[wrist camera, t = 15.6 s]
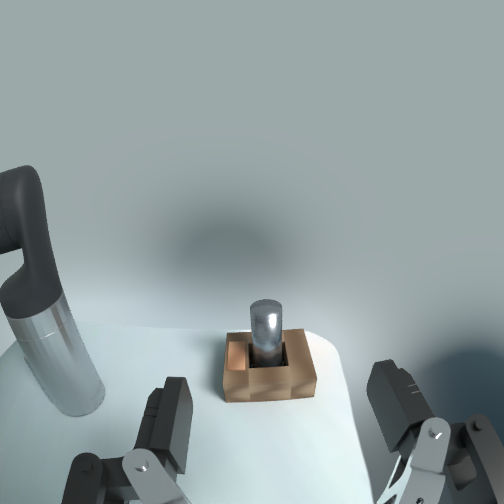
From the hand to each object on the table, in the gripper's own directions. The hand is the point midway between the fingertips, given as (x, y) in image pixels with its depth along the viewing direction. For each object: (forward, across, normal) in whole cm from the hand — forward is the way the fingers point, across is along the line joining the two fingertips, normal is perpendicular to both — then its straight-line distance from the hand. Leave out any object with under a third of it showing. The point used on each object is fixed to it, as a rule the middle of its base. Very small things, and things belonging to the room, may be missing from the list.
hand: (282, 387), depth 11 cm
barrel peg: (+22, -1, +22) cm, 31 cm away
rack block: (+22, -1, +22) cm, 31 cm away
